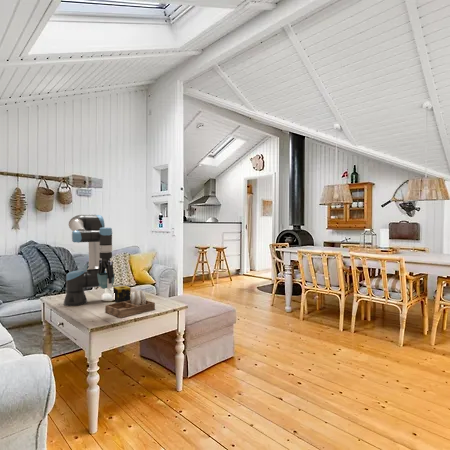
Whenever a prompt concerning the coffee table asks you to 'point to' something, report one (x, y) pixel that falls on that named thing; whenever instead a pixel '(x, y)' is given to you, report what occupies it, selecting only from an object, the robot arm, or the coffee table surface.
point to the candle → (122, 293)
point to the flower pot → (103, 280)
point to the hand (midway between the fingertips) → (105, 287)
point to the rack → (131, 306)
